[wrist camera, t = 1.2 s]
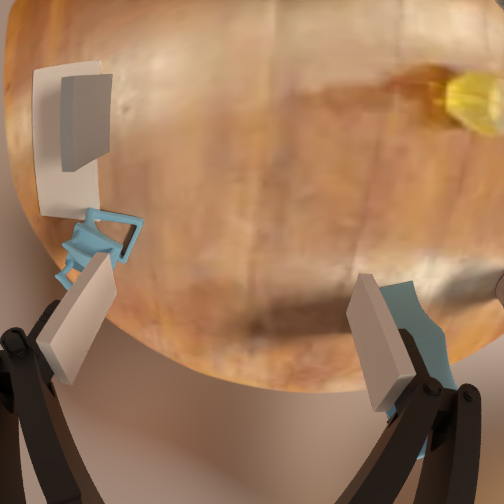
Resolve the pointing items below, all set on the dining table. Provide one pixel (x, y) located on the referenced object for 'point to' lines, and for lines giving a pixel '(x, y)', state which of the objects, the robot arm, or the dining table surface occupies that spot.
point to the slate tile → (84, 119)
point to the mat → (59, 148)
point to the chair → (95, 242)
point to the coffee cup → (500, 291)
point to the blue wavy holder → (419, 335)
